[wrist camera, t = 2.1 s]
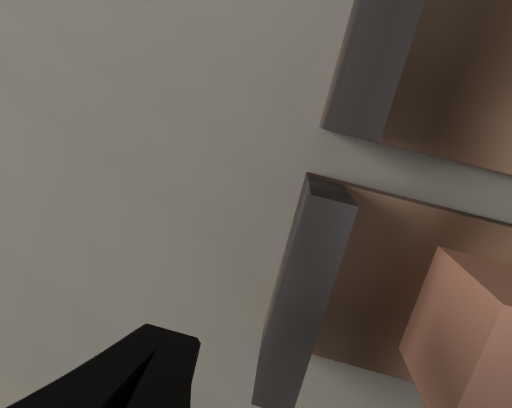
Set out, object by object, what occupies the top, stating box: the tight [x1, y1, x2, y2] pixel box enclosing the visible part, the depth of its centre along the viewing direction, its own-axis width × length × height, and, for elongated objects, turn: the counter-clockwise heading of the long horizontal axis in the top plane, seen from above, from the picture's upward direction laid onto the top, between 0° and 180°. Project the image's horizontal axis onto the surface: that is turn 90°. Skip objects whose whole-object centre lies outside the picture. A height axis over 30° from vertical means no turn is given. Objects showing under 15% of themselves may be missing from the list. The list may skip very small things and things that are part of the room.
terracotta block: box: [399, 246, 512, 408], centre depth 13 cm, size 5×5×5 cm
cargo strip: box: [251, 172, 512, 408], centre depth 14 cm, size 12×8×5 cm, turn 76°
